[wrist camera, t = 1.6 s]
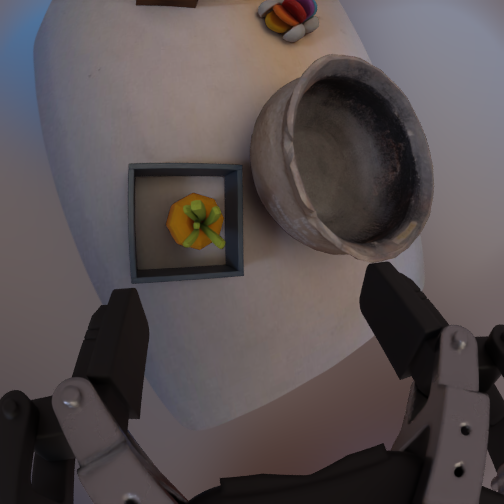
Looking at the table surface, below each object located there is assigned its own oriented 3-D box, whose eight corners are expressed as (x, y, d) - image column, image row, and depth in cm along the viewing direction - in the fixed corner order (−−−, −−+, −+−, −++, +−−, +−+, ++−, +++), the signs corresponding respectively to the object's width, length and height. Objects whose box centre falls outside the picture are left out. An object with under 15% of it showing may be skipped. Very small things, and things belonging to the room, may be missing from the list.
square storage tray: (132, 275, 33) (131, 283, 28) (130, 171, 31) (128, 163, 27) (230, 269, 37) (243, 275, 32) (228, 171, 36) (242, 164, 31)
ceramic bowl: (195, 139, 34) (234, 88, 20) (315, 79, 39) (380, 39, 25) (286, 280, 40) (359, 307, 26) (379, 198, 46) (453, 195, 32)
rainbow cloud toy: (246, 15, 34) (265, -11, 27) (283, -1, 36) (303, -24, 29) (283, 50, 37) (308, 27, 30) (316, 30, 38) (340, 11, 32)
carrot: (203, 239, 35) (246, 251, 22) (162, 245, 34) (178, 261, 20) (198, 198, 35) (239, 183, 21) (157, 203, 33) (170, 189, 19)
